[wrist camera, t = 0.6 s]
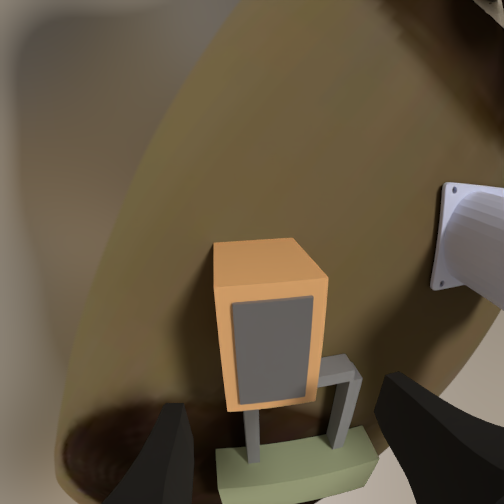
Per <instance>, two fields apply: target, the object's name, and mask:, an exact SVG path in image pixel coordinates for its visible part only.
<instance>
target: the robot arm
mask: <svg viewBox="0 0 504 504" xmlns="http://www.w3.org/2000/svg"><path fill="white" fill-rule="evenodd" d="M452 189H454V190H453V192H452ZM440 282H441V283H440ZM461 285H466V286H468V287H469V288H471V289H472V290H474V291H475V292H477V293H478V294H480V295H481V296H483V297H484V298H486V299H487V300H489V301H490V302H492V303H493V304H495V305H496V306H498V307H499V308H501V309H502V310H504V188H499V187H491V186H482V185H473V184H463V183H452V182H445V183H444V185H443V187H442V199H441V211H440V221H439V230H438V238H437V245H436V252H435V259H434V265H433V271H432V276H431V282H430V287H431V289H433V290H435V291H436V290H441V289H447V288H452V287H456V286H461ZM374 413H375V415H376V418H377V421H378V424H379V426H380V429H381V431H382V433H383V435H384V437H385V439H386V441H387V442H388V444H389V446H390V448H391V449H392V451H393V453H394V455H395V457H396V458H397V460H398V462H399V464H400V466H401V467H402V469H403V471H404V472H405V475H406V477H407V479H408V481H409V484H410V486H411V489H412V492H413V494H414V497H415V500H416V503H417V504H504V427H501V426H498V425H494V424H492V423H489V422H486V421H484V420H481V419H479V418H476V417H474V416H472V415H470V414H468V413H466V412H464V411H462V410H460V409H458V408H456V407H454V406H453V405H451V404H449V403H448V402H446V401H444V400H442V399H441V398H439V397H438V396H436V395H435V394H433V393H431V392H430V391H428V390H427V389H425V388H424V387H422V386H421V385H419V384H418V383H416V382H415V381H413V380H412V379H410V378H409V377H407V376H405V375H404V374H402V373H401V372H399V371H398V372H395V373H391V374H387V375H385V378H384V381H383V384H382V388H381V391H380V394H379V397H378V400H377V403H376V406H375V409H374ZM193 473H194V444H193V435H192V432H191V428H190V425H189V421H188V418H187V414H186V410H185V406H184V403H166V404H165V405H164V406H163V408H162V410H161V413H160V415H159V417H158V419H157V421H156V423H155V425H154V427H153V429H152V431H151V433H150V435H149V437H148V439H147V440H146V442H145V444H144V446H143V448H142V449H141V451H140V453H139V454H138V456H137V458H136V459H135V461H134V462H133V464H132V465H131V467H130V468H129V470H128V471H127V473H126V474H125V476H124V477H123V478H122V480H121V481H120V482H119V484H118V485H117V486H116V487H115V489H114V490H113V491H112V492H111V494H110V495H109V496H108V497H107V498H106V499H105V500H104V501H103V502H102V503H101V504H191V501H192V487H193Z"/></svg>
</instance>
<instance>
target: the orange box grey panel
mask: <svg viewBox="0 0 504 504" xmlns="http://www.w3.org/2000/svg"><path fill="white" fill-rule="evenodd" d="M327 291H328V277H327V276H326V274H325V273H324V272H323V271H322V270H321V269H320V268H319V267H318V265H317V264H316V263H315V262H314V261H313V260H312V259H311V258H310V256H309V255H308V254H307V253H306V252H305V251H304V250H303V249H302V248H301V247H300V245H299V244H298V243H297V242H296V241H295V240H294V239H293V238H280V239H264V240H249V241H233V242H218V243H214V296H215V306H216V316H217V326H218V336H219V345H220V354H221V363H222V371H223V380H224V388H225V396H226V403H227V411H228V412H235V411H246V410H256V409H265V408H273V407H280V406H287V405H294V404H300V403H306V402H312V401H315V399H316V393H317V385H318V378H319V370H320V362H321V354H322V345H323V336H324V326H325V315H326V303H327Z"/></svg>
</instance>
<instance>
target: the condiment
mask: <svg viewBox="0 0 504 504" xmlns="http://www.w3.org/2000/svg"><path fill="white" fill-rule="evenodd" d="M473 1H474V2H475V3H476V4H478V5H479V6H480V7H481V8H482V9H484V10H485V12H486V13H488V14H489V15H490V16H492V17H493V18H494V19H495V21H496V22H497V23H499V24H500V25H501V26H502V27H503V28H504V9H503V5H502V1H501V0H473ZM490 2H491V3H492V4H491V3H490ZM489 3H490V4H489Z"/></svg>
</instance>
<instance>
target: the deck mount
mask: <svg viewBox="0 0 504 504" xmlns="http://www.w3.org/2000/svg"><path fill="white" fill-rule="evenodd" d="M362 379H363V378H362V377H361V375H360V373H359V372H358V370H357V369H356V367H355V365H354V364H353V362H350V360H349V359H348V357H347V356H346V354H340V355H335V356H329V357H323V358H321V362H320V370H319V378H318V385H317V388H318V387H323V386H328V385H334V384H337V386H336V392H335V397H334V402H333V406H332V411H331V416H330V420H329V425H328V429H327V433H326V434H325V435H320V436H315V437H310V438H305V439H299V440H293V441H287V442H280V443H273V444H266V445H260V442H259V409H256V410H246V411H243V418H244V430H245V441H246V447H237V448H223V449H216V466H217V482H218V491H219V494H220V497H221V500H222V503H223V504H296V503H302V502H307V501H311V500H316V499H320V498H325V497H329V496H332V495H337V494H340V493H344V492H348V491H351V490H354V489H357V488H361V487H364V486H365V484H366V482H367V481H368V479H369V477H370V475H371V474H372V472H373V470H374V468H375V466H376V464H377V463H378V460H379V457H378V455H377V453H376V451H375V449H374V447H373V445H372V443H371V441H370V439H369V437H368V435H367V433H366V431H365V429H364V428H363V426H358V427H354V428H350V429H349V426H350V423H351V419H352V416H353V412H354V409H355V405H356V402H357V398H358V394H359V391H360V387H361V383H362Z"/></svg>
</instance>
